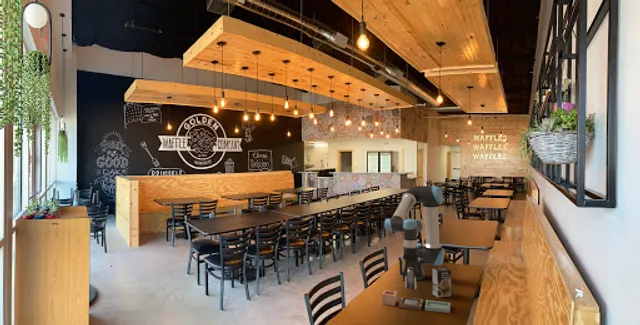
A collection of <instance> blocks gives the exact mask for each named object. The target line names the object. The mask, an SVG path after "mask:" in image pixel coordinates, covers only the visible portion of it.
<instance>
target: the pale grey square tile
mask: <svg viewBox="0 0 640 325" xmlns="http://www.w3.org/2000/svg"><path fill="white" fill-rule="evenodd" d="M404 304H408V305H417V304H418V300H410V299H405V302H404Z"/></svg>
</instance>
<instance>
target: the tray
mask: <svg viewBox="0 0 640 325" xmlns="http://www.w3.org/2000/svg"><path fill="white" fill-rule="evenodd" d="M424 311H429V312H435V313H437V312H438V313H444V314H451V302H446V301H438V300H431V299H429V300H428V299H425V305H424Z"/></svg>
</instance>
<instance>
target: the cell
mask: <svg viewBox="0 0 640 325" xmlns="http://www.w3.org/2000/svg"><path fill="white" fill-rule="evenodd" d="M406 289H408V290H416V289H415V271H414V268H412V267H409V268H407V288H406Z"/></svg>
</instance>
